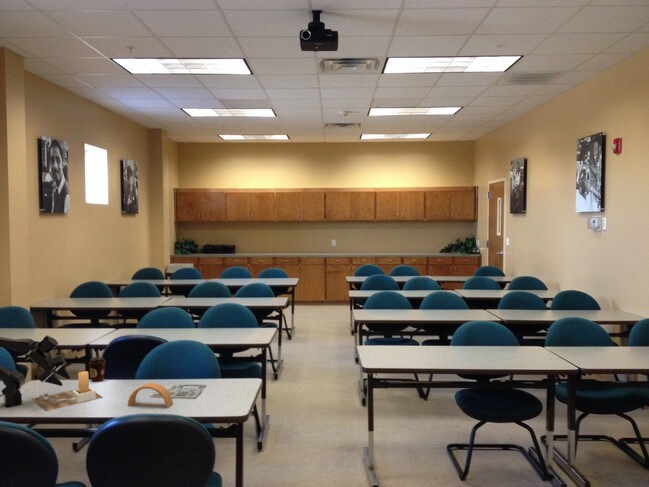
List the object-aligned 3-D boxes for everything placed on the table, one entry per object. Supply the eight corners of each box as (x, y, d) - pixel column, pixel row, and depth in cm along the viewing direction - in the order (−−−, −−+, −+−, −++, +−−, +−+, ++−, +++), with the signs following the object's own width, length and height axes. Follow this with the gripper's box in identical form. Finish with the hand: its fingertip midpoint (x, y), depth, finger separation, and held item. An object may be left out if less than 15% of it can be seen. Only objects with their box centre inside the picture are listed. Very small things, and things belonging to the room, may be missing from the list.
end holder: (78, 403, 247) (78, 394, 247) (72, 398, 253) (72, 390, 253) (95, 398, 253) (95, 390, 252) (89, 394, 259) (89, 387, 258)
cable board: (45, 413, 237) (45, 405, 237) (31, 401, 253) (31, 394, 252) (103, 399, 255) (103, 392, 255) (87, 388, 271) (86, 382, 270)
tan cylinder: (78, 399, 250) (77, 374, 249) (79, 396, 254) (78, 371, 253) (88, 398, 251) (87, 373, 251) (89, 395, 256) (88, 370, 255)
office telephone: (149, 393, 258) (165, 381, 278) (149, 398, 258) (166, 385, 278) (194, 394, 255) (208, 381, 275) (195, 399, 255) (208, 386, 275)
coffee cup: (93, 385, 276) (93, 361, 275) (85, 382, 281) (85, 359, 280) (109, 381, 283) (108, 358, 282) (100, 378, 288) (100, 355, 287)
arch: (133, 402, 252) (133, 381, 251) (172, 404, 249) (172, 383, 248) (127, 406, 246) (127, 385, 245) (167, 408, 243) (167, 387, 243)
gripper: (45, 354, 240) (70, 377, 243) (61, 342, 259) (84, 364, 261) (28, 370, 240) (53, 393, 242) (45, 358, 259) (68, 379, 261)
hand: (65, 381), depth 252 cm, fingers open, 9 cm apart
